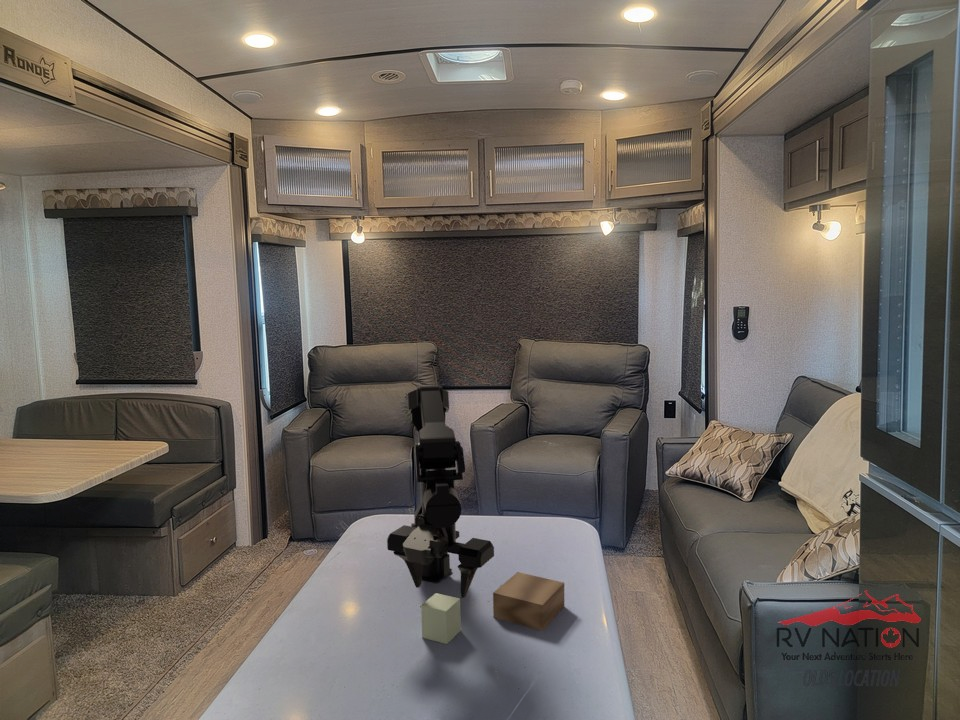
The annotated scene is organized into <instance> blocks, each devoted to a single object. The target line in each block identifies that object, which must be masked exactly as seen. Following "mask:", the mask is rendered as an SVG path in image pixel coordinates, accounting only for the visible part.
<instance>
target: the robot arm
mask: <svg viewBox="0 0 960 720" xmlns="http://www.w3.org/2000/svg"><path fill="white" fill-rule="evenodd" d="M449 395H450V394H449V391H448V390H446V389H443V386H441V385H439V384H435V385H434V384H433V385H428V384H427V385H420V386H417V387H416V388H415V390H412V391H409V392H408V393H407V398H406V400H407V401H406V402H407V405H406V406H407V414H408V415H410V420H411V423H412V425H413V426H414V429H415V430H416V431H417V432H418V439H417V440H418V442H415V443H414V459H415V460H414V461H415V471H416V472H415V473H416V477H415V478H416V482H417V483H420V503H419V504H418V506H417V507H416V510H415V512H414V515H413V517H414V519H413V520H414V523H411V525H406V524H404V525H402V526H400V527H399V528H397V529H395V530H394V531H392V532H390V533H389V535H388V536H387V539H386V548H387V551H391V552H393V554H394V555H395V556H397V557H399V558H401V559H402V560H403V561H404V562H405V564H406V567H407V569H408V571H409V573H410V576H411V579H412V581H413V583H414V586H415V588H417V589H418V588H420V587H421V586H422V581H427V582H431V583H435V584H438V583H440V582H441V581H442V580H443V579H444V578H446V577H447V576H448V575H450V574H451V573H452V572H453V568H451V566H450V565H451V564H450V563H451V560H450V553H451V554H453V555H458V561H459V563H460V564H458V565H457V569H458V570H459V572H460V590H459V591H460V596H461V598H460V599H464V598H466V597H467V594H468V592H469V590H470V587H471V585H472V582H473V581H474V577H475V574H476V572H477V570H478V569H480V568H482V567H483V566H484V565H486V563H487V562H489V561H490V560H491V559H492V558H493V557H494V556H495V546H494V545H493V543H492V541H490V540H487V539H482V538H477V537H471V539H469V540H467V542H466V543H465V542H464V543H462V542H458V541H457V539H458V538H460V530H456V529H457V526H456V523H457V522H458V520H459V519H460V517H461V514H462V505H461V502H460V499H459V496H458V494H457V491H456V489H455V487H456V485H455V481H463V480H464V478H463V477H464V476H463V473H466V465H465V464H466V463H465V455H464V447H463V446H462V445H461V442H460V441H459V440H457V439H456V435H455V431H454V429H453V428H451V427H449V426H447V424H446V413H449V410H450V400H449V399H450V397H449ZM456 468H457V469H456Z"/></svg>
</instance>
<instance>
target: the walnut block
mask: <svg viewBox="0 0 960 720" xmlns="http://www.w3.org/2000/svg"><path fill="white" fill-rule="evenodd" d="M492 595H493V596H492V601H493V602H492V604H493V605H492V606H493V609H492V610H493V611H492V612H493V616H492V617H493V618H494V617H495V618H494V619H499V620H501V619H502V620H501V621H506V622H508V623H513V624H517V625H519V626H524V627H527V628H531V629H534V630H537V631H544V630H545V629H546V628H547V627H548V625H550V623H551V622H552V621H554V619H555V618H556V617H557V615H559V613H560V612H561V611H562V610H563V609H564V608H565V582H563V581H558V580H554V579H549V578H546V577H542V576H541V577H540V576H537V575H533V574H528V573H523V572H520V571H517V572H515V573H514V574H513V575H511V576H510V578H509V579H507V580H506V581H505V582H504V583H502V584H501V585H500V586H499V587H498V588H497V589H496V590H494V591H493V592H492Z"/></svg>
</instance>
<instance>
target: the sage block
mask: <svg viewBox="0 0 960 720" xmlns="http://www.w3.org/2000/svg"><path fill="white" fill-rule="evenodd" d="M420 608H421V638H422V639H426V640H430V641H433V642H437V643H441V644H444V645H448V644H449V643H450V642H451V641H452V640H453V639H454V638H455V637H456V636H457V635H458V634H459V633H460V632H461V631H462V624H461V598H458V597H454V596H450V595H447V594H441V593H433V595H431V596H430V597H429V598H428V599H427V600H426V601H424V602H423V603H422V604H421V606H420Z"/></svg>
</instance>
